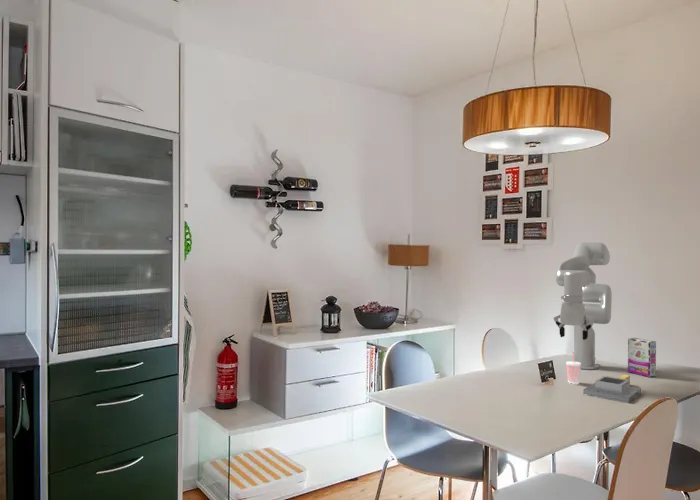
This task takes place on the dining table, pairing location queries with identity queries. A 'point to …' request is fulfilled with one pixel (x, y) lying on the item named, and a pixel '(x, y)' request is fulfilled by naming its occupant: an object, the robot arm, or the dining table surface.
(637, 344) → the candy bar box
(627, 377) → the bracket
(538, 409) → the dining table surface
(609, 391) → the stacked grey tray
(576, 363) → the beverage cup
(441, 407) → the dining table surface
